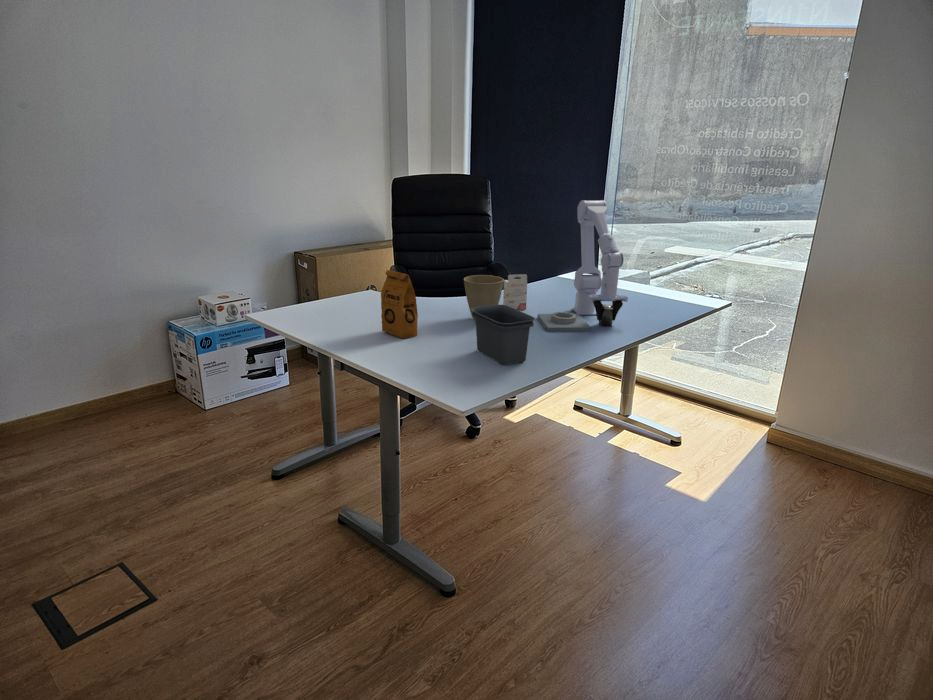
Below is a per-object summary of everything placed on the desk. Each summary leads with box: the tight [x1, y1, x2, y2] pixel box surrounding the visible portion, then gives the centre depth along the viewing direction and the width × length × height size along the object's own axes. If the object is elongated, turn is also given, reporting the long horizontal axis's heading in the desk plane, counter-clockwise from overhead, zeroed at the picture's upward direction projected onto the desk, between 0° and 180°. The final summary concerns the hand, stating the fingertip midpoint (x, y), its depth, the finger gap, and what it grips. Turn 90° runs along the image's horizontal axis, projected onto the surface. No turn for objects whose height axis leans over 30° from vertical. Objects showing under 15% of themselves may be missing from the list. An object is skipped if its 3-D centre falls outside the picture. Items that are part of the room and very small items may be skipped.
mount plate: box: [537, 311, 592, 332], centre depth 226 cm, size 18×16×4 cm
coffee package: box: [380, 269, 419, 340], centre depth 207 cm, size 10×12×22 cm
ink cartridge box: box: [502, 273, 528, 311], centre depth 243 cm, size 9×5×15 cm, turn 105°
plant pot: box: [463, 274, 505, 322], centre depth 226 cm, size 15×15×16 cm
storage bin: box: [471, 304, 536, 366], centre depth 189 cm, size 21×16×14 cm
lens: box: [598, 303, 614, 327], centre depth 226 cm, size 5×5×7 cm
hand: (605, 319), depth 226 cm, fingers closed on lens, 5 cm apart
